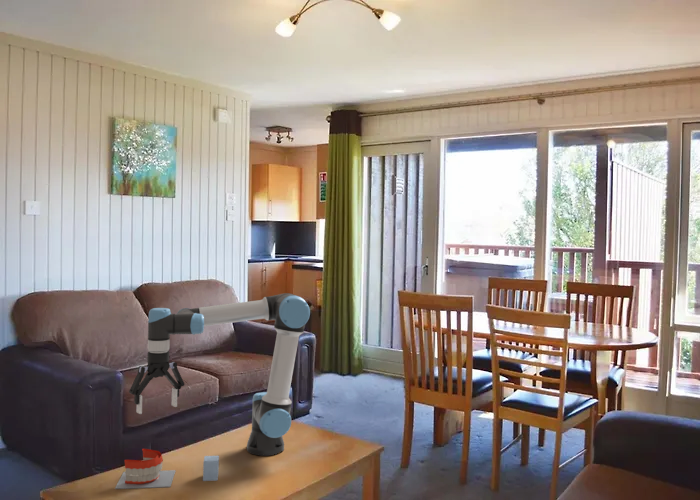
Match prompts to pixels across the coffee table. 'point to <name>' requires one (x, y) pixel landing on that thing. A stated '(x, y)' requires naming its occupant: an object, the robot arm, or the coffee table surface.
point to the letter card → (161, 481)
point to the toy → (144, 468)
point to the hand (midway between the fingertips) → (157, 409)
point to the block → (210, 468)
